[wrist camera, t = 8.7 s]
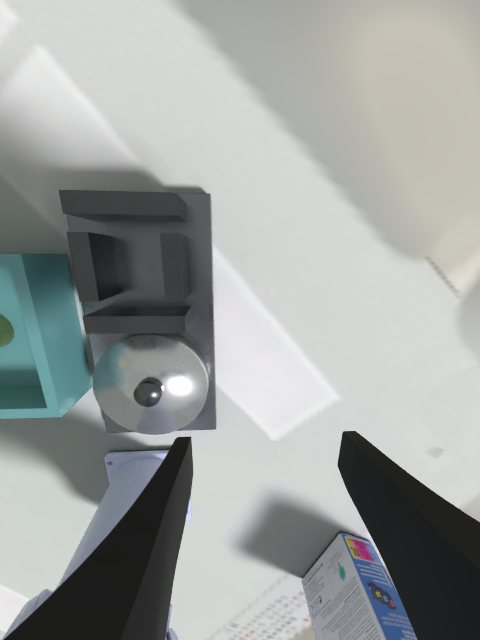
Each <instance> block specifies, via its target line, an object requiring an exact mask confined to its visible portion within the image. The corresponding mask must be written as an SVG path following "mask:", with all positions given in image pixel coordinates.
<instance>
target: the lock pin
mask: <svg viewBox="0 0 480 640" xmlns="http://www.w3.org/2000/svg"><path fill="white" fill-rule="evenodd" d="M13 337H14V329H13V326H12V324H11V323H10V321H9V320H8V319H7V318H6V317H4V316H3V315H1V314H0V348H1V347H4V346H6V345H8V344H9V343H10V342H11V341H12V340H13Z"/></svg>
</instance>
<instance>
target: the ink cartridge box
mask: <svg viewBox="0 0 480 640" xmlns="http://www.w3.org/2000/svg"><path fill="white" fill-rule="evenodd" d="M302 585H303V589H304V593H305V597H306V601H307V605H308V609H309V613H310V618H311V621H312V626H313V630H314V633H315V638H316V640H417V638H416V635H415V633H414V630H413V628H412V626H411V623H410V621H409V618H408V616H407V613H406V611H405V609H404V606H403V604H402V601H401V599H400V597H399V595H398V593H397V591H396V589H395V587H394V586H393V584H392V582H391V580H390V578H389V576H388V574H387V572H386V570H385V568H384V566H383V565H382V563H381V561H380V559H379V557H378V555H377V553H376V551H375V549H374V547H373V546H372V544H371V542H370V541H367V540H364V539H361V538H358V537H355V536H352V535H349V534H346V533H343V532H342V533H340V534H338V536H337V537H336V538H335V540H334V541H333V542H332V543H331V545H330V546H329V547H328V548H327V550H326V551H325V552H324V553H323V555H322V556H321V557H320V558H319V559H318V561H317V562H316V563H315V564H314V565H313V567H312V568H311V569H310V571H309V572H308V573H307V574H306V575H305V577H304V578H303V579H302Z"/></svg>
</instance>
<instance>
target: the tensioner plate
mask: <svg viewBox="0 0 480 640" xmlns="http://www.w3.org/2000/svg"><path fill="white" fill-rule="evenodd" d="M59 193H60V198H61V204H62V209H63V213H64V214H67V219H68V225H69V230H70V232H67V236H68V241H69V246H70V252H71V257H72V262H73V268H74V273H75V278H76V284H77V289H78V294H79V299H80V302H83V306H84V311H85V316H83V321H84V326H85V331H86V334H89V338H90V344H91V349H92V355H93V360H94V365H95V369H94V373H93V391H94V394H95V397H96V400H97V402H98V404H99V405H100V407H101V409H102V410H103V414H104V420H105V425H106V430H107V433H120V432H138V433H142V434H165V433H170V432H173V431H181V430H212V429H216V383H215V340H214V297H213V255H212V212H211V195H210V194H205V193H163V192H122V191H80V190H59Z"/></svg>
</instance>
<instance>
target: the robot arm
mask: <svg viewBox="0 0 480 640" xmlns="http://www.w3.org/2000/svg"><path fill="white" fill-rule="evenodd" d="M104 461H105V466H106V471H107V476H108V481H109V487H108V489H107V491H106V493H105V495H104V497H103V499H102V501H101V503H100V505H99V507H98V509H97V510H96V512H95V514H94V516H93V518H92V520H91V522H90V524H89V526H88V528H87V530H86V532H85V534H84V536H83V538H82V540H81V542H80V544H79V546H78V548H77V550H76V552H75V553H74V555H73V557H72V559H71V561H70V563H69V565H68V567H67V569H66V571H65V573H64V575H63V577H62V579H61V581H60V583H59V585H58V586H57V588H56V589H55V590H54V591H51V590H48V589H45V590H43V591H42V592H41V593H40V594H39V595H37V596H36V597H34V598H33V599H31V600H30V601H28V602H27V603H26V604H25V606H24V607H23V608H22V610H21V611H20V613H19V614H18V616H17V617H16V619H15V620H14V622H13V623H12V625H11V626H10V628H9V629H8V631H7V632H6V634H5V636H4V637H3V639H2V640H178V638H177V635H176V633H175V631H173V630H172V629H171V628H169V622H170V615H171V609H172V605H171V604H170V601H171V594H172V587H173V580H174V574H175V568H176V563H177V558H178V553H179V549H180V544H181V539H182V534H183V530H184V525H185V521H189V520H190V519H191V501H190V495H191V486H192V478H193V460H192V444H191V437H177V438H176V439H175V441H174V443H173V445H172V446H171V448H170V450H162V451H135V452H110V453H107V454H106V456H105V457H104ZM110 461H111V462H110ZM338 468H339V471H340V473H341V476H342V478H343V481H344V483H345V486H346V488H347V491H348V493H349V495H350V497H351V498H352V500H353V502H354V504H355V506H356V508H357V510H358V512H359V514H360V516H361V518H362V520H363V522H364V524H365V525H366V527H367V529H368V531H369V533H370V535H371V537H372V539H373V541H374V543H375V545H376V546H377V548H378V550H379V552H380V554H381V556H382V559H383V561H384V563H385V565H386V567H387V569H388V571H389V573H390V576H391V578H392V581H393V583H394V585H395V588H396V590H397V592H398V594H399V597H400V599H401V601H402V604H403V606H404V609H405V611H406V613H407V616H408V618H409V621H410V623H411V626H412V628H413V630H414V633H415V635H416V638H417V640H480V522H478V521H477V520H475V519H474V518H472V517H470V516H469V515H467V514H466V513H464V512H463V511H461V510H460V509H458V508H457V507H455V506H454V505H452V504H451V503H449V502H448V501H446V500H445V499H443V498H442V497H440V496H439V495H437V494H436V493H435V492H433V491H432V490H430V489H429V488H428V487H426V486H425V485H424V484H422V483H421V482H419V481H418V480H417V479H415V478H414V477H413V476H411V475H410V474H409V473H407V472H406V471H405V470H403V469H402V468H401V467H400V466H398V465H397V464H396V463H395V462H393V461H392V460H391V459H390V458H388V457H387V456H386V455H385V454H383V453H382V452H381V451H380V450H378V449H377V448H376V447H375V446H373V445H372V444H371V443H370V442H369V441H367V440H366V439H365V438H364V437H362V436H361V435H360V434H358V433H357V432H356V431H344V432H343V434H342V441H341V447H340V453H339V459H338Z"/></svg>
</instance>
